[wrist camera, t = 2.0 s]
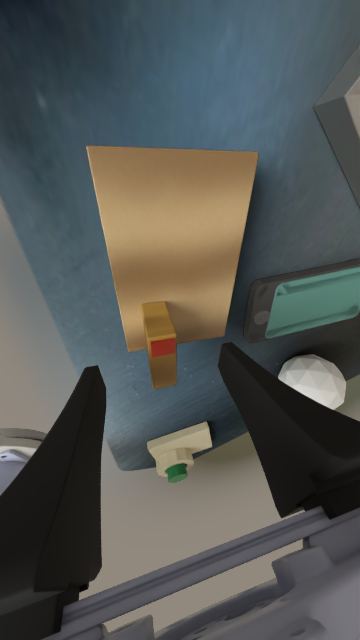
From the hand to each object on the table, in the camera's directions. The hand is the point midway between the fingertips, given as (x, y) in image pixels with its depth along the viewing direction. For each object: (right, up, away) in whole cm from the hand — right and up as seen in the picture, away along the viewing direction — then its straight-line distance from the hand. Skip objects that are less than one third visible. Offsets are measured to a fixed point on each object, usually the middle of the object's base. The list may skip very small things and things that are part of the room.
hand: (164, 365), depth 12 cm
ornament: (+17, -3, +16) cm, 24 cm away
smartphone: (+15, +5, +10) cm, 18 cm away
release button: (0, -22, +22) cm, 31 cm away
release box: (+1, -18, +22) cm, 29 cm away
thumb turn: (-1, +2, +3) cm, 4 cm away
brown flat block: (0, +7, +3) cm, 8 cm away
